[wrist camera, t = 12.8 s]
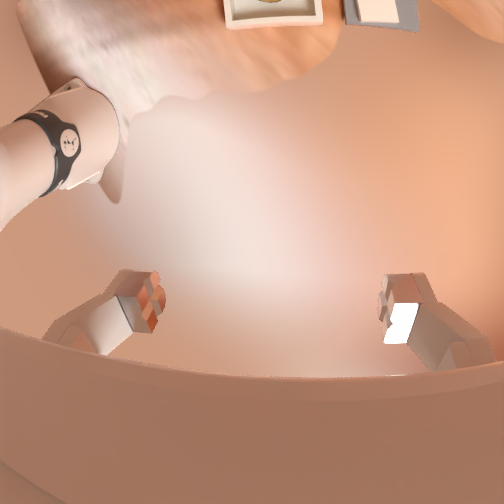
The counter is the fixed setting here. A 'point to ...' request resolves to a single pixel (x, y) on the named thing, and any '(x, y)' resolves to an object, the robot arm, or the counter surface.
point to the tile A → (377, 11)
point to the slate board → (406, 17)
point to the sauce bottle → (270, 1)
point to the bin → (272, 13)
